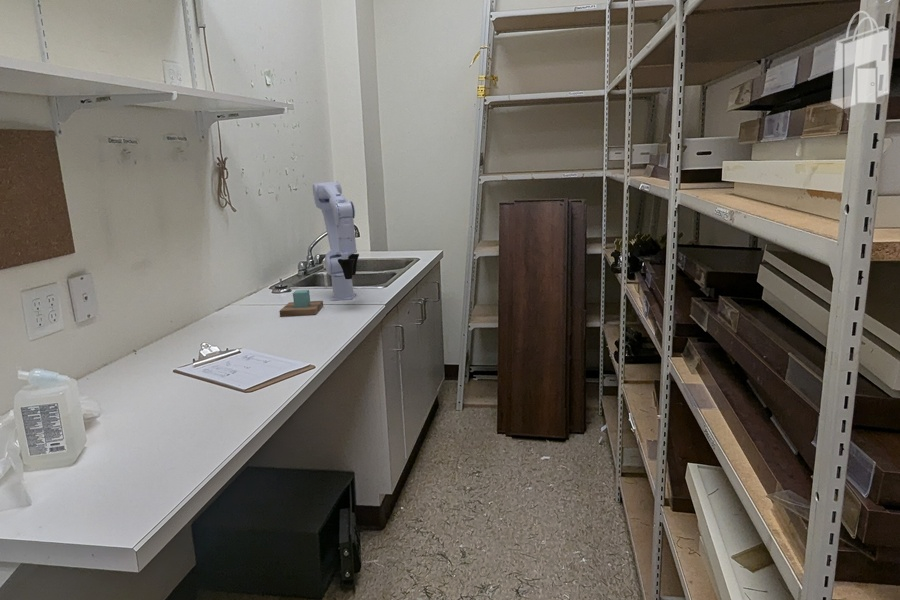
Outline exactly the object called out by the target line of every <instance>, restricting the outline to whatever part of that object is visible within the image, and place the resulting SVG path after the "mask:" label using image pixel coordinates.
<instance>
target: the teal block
mask: <svg viewBox="0 0 900 600" xmlns="http://www.w3.org/2000/svg"><path fill="white" fill-rule="evenodd" d="M310 296H311V295H310V289H302V290H301V289H300V290H299V289H298V290H297V289H296V290H295V291H293V293H292V298H293V302H294V308H298V307H308V306H309V305H310V304H311V303H310V301H311V297H310Z"/></svg>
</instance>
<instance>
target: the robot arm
mask: <svg viewBox="0 0 900 600" xmlns="http://www.w3.org/2000/svg"><path fill="white" fill-rule="evenodd" d="M312 192H313V193H312V195H313V199H314V204H315V206H316V208H317V209H319V210H321V213H322V216H323V219H324V224H325V225H324V226H325V229H326V233H327V238H328V244H329V248H330V250H329V251H328V252H327V253H326V254H325V256H324V262H325V270H326V273H327V275H329V276H330V277H331V278H330V279H331V286H332V287H331V288H332V294H333V295H332V297H331V298H330V301H347V300H353V299H354V297H355V296H356V295H357V293H356V292H354V287H353V276H355V275H356V274H357V263H358V259H359V257H360V253H358V250H357V244H356V232H355V225H354V224H355V223H354V222H355V221H354V219H355V216H356V211H355V210H356V209H355V205H354V203H353V201H348V200H347V198H346V197H345V195H344V194H342V193H343V191H342V185H341V183H340V181H338V180H337V181H326V182H314V183H313V184H312Z"/></svg>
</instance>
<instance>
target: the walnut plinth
mask: <svg viewBox="0 0 900 600" xmlns="http://www.w3.org/2000/svg"><path fill="white" fill-rule="evenodd" d="M310 303H311V304H310V305H309V306H308V307H298V308H294V301H291V302H288V303H287V304H286V305H284V306H283V307H282V308H281V309H280V310H279V311H278V312H279V318H285V317H286V318H287V317H302V316H316V315H317V314H318V313H319V312H320V310H322V308H324V301H323V300H310Z"/></svg>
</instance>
